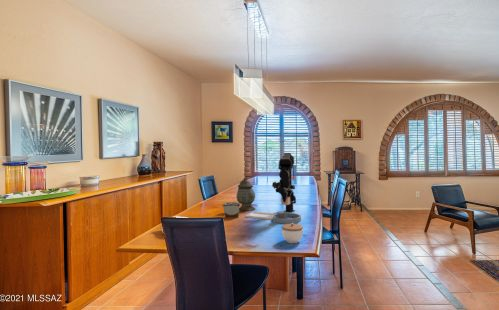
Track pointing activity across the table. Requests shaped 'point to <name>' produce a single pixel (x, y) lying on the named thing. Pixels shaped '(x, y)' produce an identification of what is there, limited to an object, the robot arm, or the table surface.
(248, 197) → the grey stone urn
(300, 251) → the table surface
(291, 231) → the lidded jar
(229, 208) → the food container
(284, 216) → the gray chunky prism
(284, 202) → the matte tan cube
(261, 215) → the parts tray
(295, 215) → the bowl
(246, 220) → the table surface
